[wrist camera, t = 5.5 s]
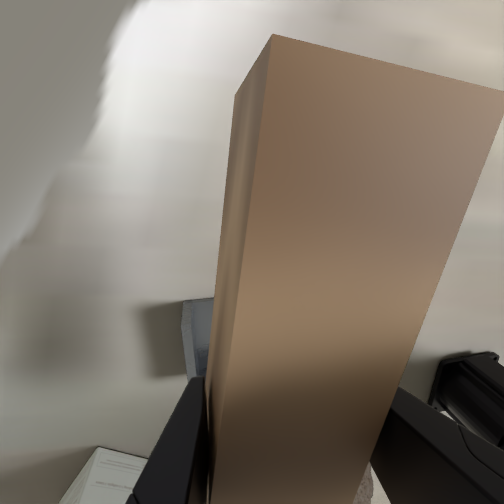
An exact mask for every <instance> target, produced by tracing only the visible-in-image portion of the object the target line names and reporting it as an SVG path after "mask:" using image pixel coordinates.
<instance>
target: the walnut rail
mask: <svg viewBox="0 0 504 504" xmlns="http://www.w3.org/2000/svg"><path fill="white" fill-rule="evenodd" d="M503 115H504V91H500V90H496V89H492V88H488V87H484V86H480V85H476V84H472V83H468V82H464V81H460V80H456V79H452V78H448V77H444V76H440V75H436V74H432V73H428V72H424V71H420V70H416V69H412V68H408V67H404V66H400V65H396V64H392V63H388V62H384V61H380V60H376V59H372V58H368V57H364V56H360V55H356V54H352V53H348V52H344V51H340V50H336V49H332V48H328V47H324V46H320V45H316V44H312V43H308V42H304V41H300V40H296V39H292V38H288V37H284V36H280V35H276V34H272V35H271V37H270V39H269V40H268V42H267V44H266V45H265V47H264V48H263V50H262V52H261V53H260V55H259V57H258V58H257V60H256V62H255V63H254V65H253V66H252V68H251V70H250V71H249V73H248V75H247V76H246V78H245V80H244V81H243V83H242V84H241V86H240V88H239V89H238V91H237V93H236V94H235V99H234V108H233V118H232V128H231V138H230V148H229V158H228V167H227V177H226V187H225V197H224V207H223V216H222V226H221V236H220V246H219V256H218V265H217V275H216V285H215V295H214V305H213V315H212V324H211V334H210V344H209V354H208V364H207V373H206V383H205V385H206V395H207V413H208V434H209V473H208V489H207V504H353V501H354V499H355V496H356V494H357V491H358V488H359V486H360V483H361V481H362V478H363V476H364V473H365V470H366V468H367V465H368V463H369V460H370V458H371V455H372V452H373V450H374V447H375V445H376V442H377V440H378V437H379V434H380V432H381V429H382V427H383V424H384V421H385V419H386V416H387V414H388V411H389V409H390V406H391V403H392V401H393V398H394V396H395V393H396V391H397V388H398V385H399V383H400V380H401V378H402V375H403V373H404V370H405V367H406V365H407V362H408V360H409V357H410V354H411V352H412V349H413V347H414V344H415V342H416V339H417V336H418V334H419V331H420V329H421V326H422V324H423V321H424V318H425V316H426V313H427V311H428V308H429V306H430V303H431V300H432V298H433V295H434V293H435V290H436V287H437V285H438V282H439V280H440V277H441V275H442V272H443V269H444V267H445V264H446V262H447V259H448V257H449V254H450V251H451V249H452V246H453V244H454V241H455V239H456V236H457V233H458V231H459V228H460V226H461V223H462V220H463V218H464V215H465V213H466V210H467V208H468V205H469V202H470V200H471V197H472V195H473V192H474V190H475V187H476V184H477V182H478V179H479V177H480V174H481V172H482V169H483V166H484V164H485V161H486V159H487V156H488V153H489V151H490V148H491V146H492V143H493V141H494V138H495V135H496V133H497V130H498V128H499V125H500V123H501V120H502V117H503Z"/></svg>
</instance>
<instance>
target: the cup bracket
mask: <svg viewBox="0 0 504 504" xmlns="http://www.w3.org/2000/svg"><path fill="white" fill-rule="evenodd" d="M213 305H214V298H208V299H199V300H189V301H183V309H182V319H181V332H182V339H183V347H184V355H185V363H186V371H187V379H188V382H189V380H190V379H191V378H192V377H196V376H204V377H205V383H206V373H207V364H208V354H209V344H210V334H211V324H212V315H213Z"/></svg>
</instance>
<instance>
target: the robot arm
mask: <svg viewBox="0 0 504 504" xmlns="http://www.w3.org/2000/svg"><path fill="white" fill-rule="evenodd" d="M498 360H499V355H497V354H496V353H494V352H491V353H485V354H479V355H473V356H467V357H461V358H454V359H448V360H444V361H442V362H441V363H440V364H439V368H438V371H437V375H436V379H435V382H434V386H433V389H432V393H431V397H430V400H429V404H426V403H424V402H423V401H421V400H420V399H418V398H416V397H415V396H413V395H412V394H410V393H408V392H407V391H405V390H404V389H402V388H400V387H399V386H398V388H397V391H396V393H395V396H394V398H393V401H392V403H391V406H390V409H389V411H388V414H387V416H386V419H385V421H384V424H383V427H382V429H381V432H380V434H379V437H378V440H377V442H376V445H375V447H374V450H373V452H372V455H371V458H370V460H369V462H370V464H371V466H372V468H373V470H374V472H375V474H376V476H377V477H378V479H379V481H380V483H381V485H382V487H383V489H384V491H385V493H386V495H387V497H388V499H389V501H390V503H391V504H504V367H503V366H502V365H501V364H499V363H498ZM441 411H446V412H447V413H448V414H449V415H450V416H451V417H452V418H453V419H454V420H455V421H456V422H455V421H454V420H452V419H450V418H449V417H447V416H445V415H444V414H442V413H441ZM208 473H209V434H208V413H207V395H206V385H205V377H204V376H196V377H192V378H191V379H190V380H189V382H188V384H187V386H186V388H185V390H184V392H183V394H182V396H181V398H180V400H179V401H178V403H177V405H176V407H175V409H174V411H173V413H172V415H171V417H170V419H169V421H168V423H167V424H166V426H165V428H164V430H163V432H162V434H161V436H160V438H159V440H158V442H157V444H156V446H155V447H154V449H153V451H152V453H151V455H150V457H149V459H148V461H147V463H146V465H145V467H144V469H143V470H142V472H141V474H140V476H139V478H138V480H137V482H136V484H135V486H134V488H133V490H132V493H131V494H130V495H129V497H128V499H127V501H126V503H125V504H207V489H208Z"/></svg>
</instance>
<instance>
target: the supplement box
mask: <svg viewBox="0 0 504 504" xmlns="http://www.w3.org/2000/svg"><path fill="white" fill-rule="evenodd" d="M147 461H148V459H145V458H141V457H136V456H133V455H129V454H125V453H121V452H117V451H113V450H109V449H105V448H101V447H98V448H97V449H96V450H95V451H94V453H93V454H92V456H91V457H90V459H89V460H88V461H87V463H86V464H85V466H84V467H83V468H82V470H81V471H80V473H79V474H78V476H77V477H76V479H75V480H74V481H73V483H72V484H71V486H70V487H69V489H68V490H67V491H66V493H65V494H64V496H63V497H62V499H61V500H60V502H59V504H125V503H126V501H127V499H128V497H129V495H130V494H131V493H132V490H133V488H134V486H135V484H136V482H137V480H138V478H139V476H140V474H141V472H142V470H143V469H144V467H145V465H146V463H147Z"/></svg>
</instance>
